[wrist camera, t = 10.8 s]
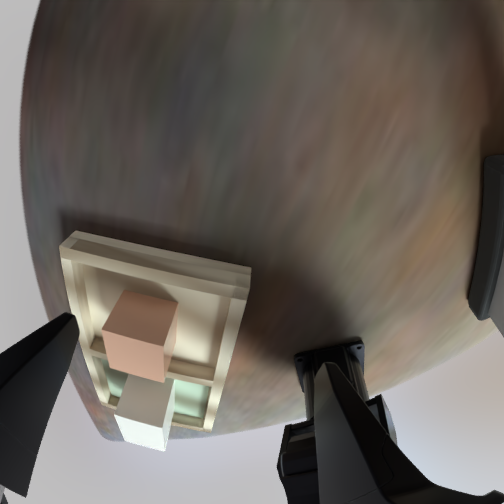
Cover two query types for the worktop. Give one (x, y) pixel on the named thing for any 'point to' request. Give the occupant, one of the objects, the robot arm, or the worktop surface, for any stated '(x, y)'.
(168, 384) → the block
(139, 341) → the terracotta block
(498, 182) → the container
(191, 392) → the slot cradle
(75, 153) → the worktop surface
